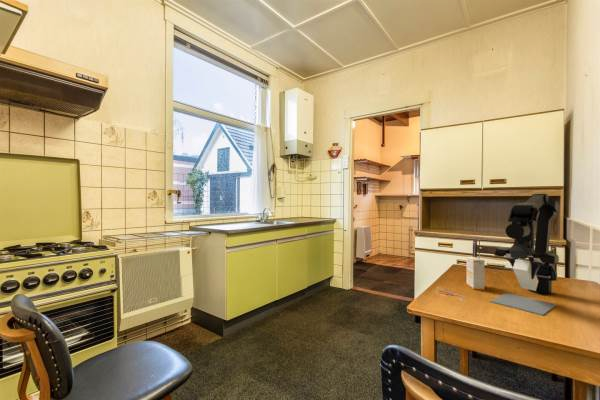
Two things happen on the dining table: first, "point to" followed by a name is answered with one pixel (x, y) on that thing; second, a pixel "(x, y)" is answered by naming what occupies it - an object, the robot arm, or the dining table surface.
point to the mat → (524, 303)
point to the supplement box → (475, 273)
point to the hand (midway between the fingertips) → (524, 277)
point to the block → (525, 274)
